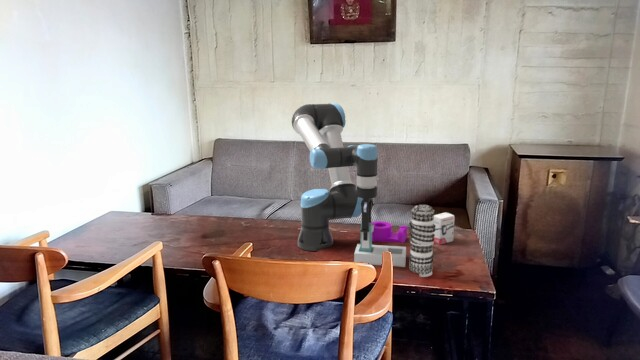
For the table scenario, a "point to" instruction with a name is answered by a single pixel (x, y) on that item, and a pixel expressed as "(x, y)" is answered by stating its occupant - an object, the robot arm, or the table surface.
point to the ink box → (443, 228)
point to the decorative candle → (422, 240)
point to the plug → (371, 228)
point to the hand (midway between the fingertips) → (366, 244)
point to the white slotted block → (376, 255)
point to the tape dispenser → (388, 233)
